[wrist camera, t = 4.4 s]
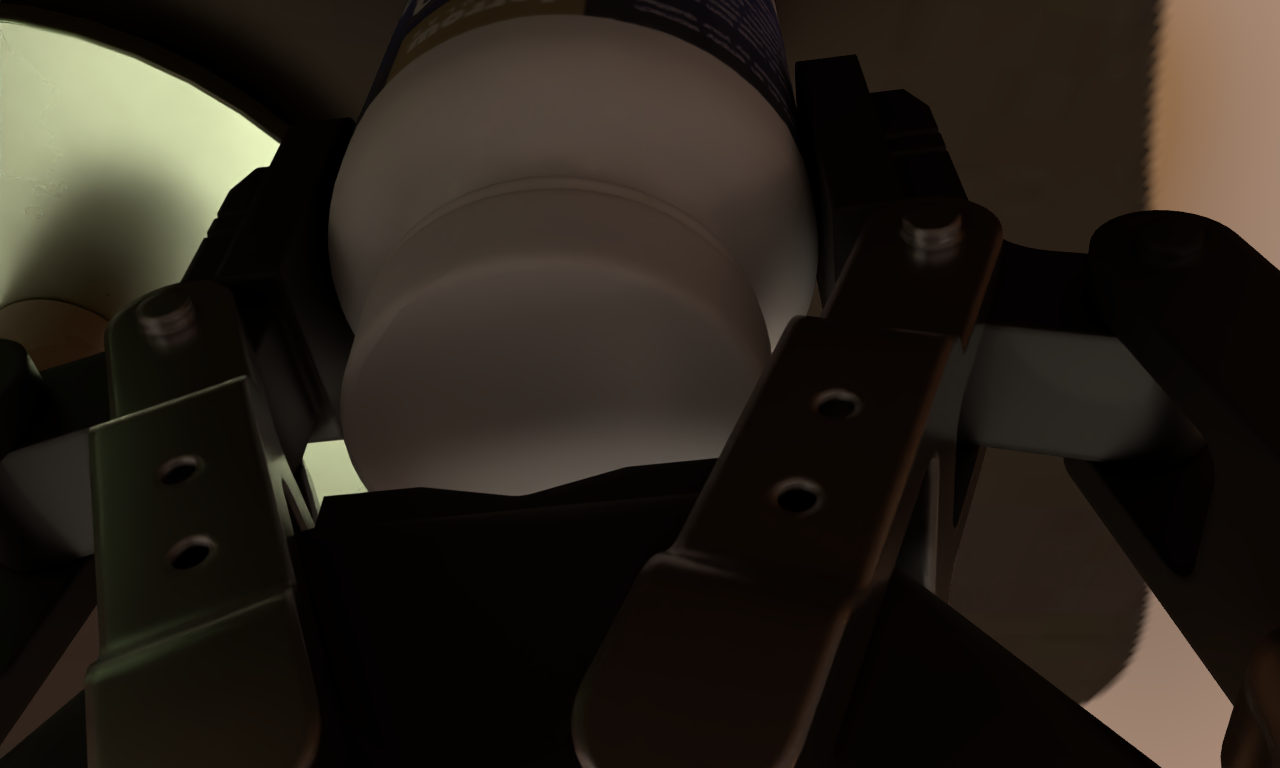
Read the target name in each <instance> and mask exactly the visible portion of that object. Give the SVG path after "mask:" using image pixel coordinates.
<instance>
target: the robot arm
mask: <svg viewBox="0 0 1280 768" xmlns="http://www.w3.org/2000/svg"><path fill="white" fill-rule="evenodd" d="M795 83H796V102H797V114H798V119H799V123H800V128H801V133H802V138H803V143H804V148H805V153H806V158H807V163H808V168H809V172H810V177H811V182H812V187H813V195H814V203H815V212H816V220H817V228H818V237H819V242H818V266H817V275H816V278H817V283H818V288H819V293H820V298H821V303H822V308H823V311H822V313H821V315H820V317H812V316H805V315H795V316H794V317H792V318H791V320H790V321H789V322H788V324H787V326H786V327H785V329H784V331H783V333H782V335H781V337H780V339H779V341H778V343H777V345H776V347H775V349H774V351H773V353H772V355H771V357H770V358H769V360H768V362H767V364H766V366H765V368H764V370H763V372H762V374H761V376H760V378H759V380H758V382H757V384H756V386H755V388H754V390H753V392H752V394H751V396H750V397H749V399H748V401H747V403H746V405H745V407H744V409H743V411H742V413H741V415H740V417H739V419H738V421H737V423H736V425H735V427H734V429H733V431H732V433H731V434H730V436H729V438H728V440H727V442H726V444H725V446H724V448H723V450H722V452H721V454H720V456H719V458H711V459H701V460H691V461H680V462H670V463H660V464H650V465H639V466H629V467H624V468H620V469H617V470H613V471H610V472H606V473H603V474H599V475H596V476H592V477H589V478H585V479H581V480H578V481H574V482H571V483H567V484H564V485H560V486H557V487H553V488H550V489H546V490H543V491H539V492H535V493H532V494H527V495H521V496H509V495H498V494H488V493H478V492H468V491H458V490H448V489H437V488H427V487H414V488H404V489H394V490H384V491H373V492H363V493H353V494H343V495H332V496H324V497H323V501H322V504H321V507H320V504H319V501H318V497H317V494H316V490H315V487H314V483H313V480H312V478H311V475H310V473H309V471H308V468H307V466H306V464H305V461H304V459H303V456H304V453H305V450H306V447H307V444H308V443H316V442H326V441H336V440H344V438H343V431H342V425H341V420H340V398H341V390H342V381H343V377H344V373H345V369H346V366H347V362H348V359H349V355H350V352H351V348H352V345H353V342H354V338H355V335H354V333H353V331H352V329H351V327H350V326H349V324H348V322H347V320H346V318H345V315H344V313H343V311H342V308H341V305H340V302H339V299H338V296H337V293H336V290H335V286H334V283H333V279H332V276H331V268H330V261H329V254H328V223H329V213H330V205H331V200H332V195H333V190H334V185H335V182H336V179H337V176H338V173H339V170H340V167H341V164H342V161H343V158H344V155H345V153H346V150H347V147H348V144H349V142H350V139H351V136H352V133H353V131H354V128H355V125H356V123H355V122H354V121H353V120H352V119H351V118H340V119H333V120H325V121H317V122H309V123H301V124H293V125H291V126H290V127H289V128H288V130H287V132H286V134H285V136H284V138H283V140H282V142H281V144H280V146H279V148H278V150H277V152H276V154H275V156H274V158H273V159H272V161H271V163H270V165H269V166H267V167H259V168H256V169H255V170H253V171H252V172H251V173H250V174H249V175H247V176H246V177H245V178H244V179H243V180H241V181H240V182H239V183H238V184H237V185H236V186H234V187H233V188H232V189H231V190H230V191H229V192H228V194H227V196H226V198H225V200H224V202H223V204H222V205H221V207H220V209H219V211H218V213H217V217H218V218H216V219H214V220H213V222H212V224H211V226H210V228H209V229H208V231H207V238H204V239H203V241H202V242H201V244H200V246H199V248H198V250H197V252H196V254H195V255H194V257H193V259H192V261H191V263H190V265H189V267H188V268H187V270H186V272H185V274H184V276H183V278H182V280H181V281H180V283H175V284H171V285H167V286H164V287H161V288H158V289H156V290H153V291H151V292H149V293H146V294H144V295H142V296H140V297H139V298H137V299H135V300H133V301H132V302H130V303H129V304H128V305H126V306H125V307H124V308H122V309H121V310H120V311H119V312H118V313H117V314H116V315H115V316H114V317H113V318H112V319H111V321H110V322H109V324H108V325H107V327H106V330H105V332H104V348H105V351H103V352H100V353H97V354H95V355H92V356H88V357H85V358H82V359H78V360H75V361H72V362H68V363H65V364H62V365H59V366H55V367H52V368H49V369H45V370H42V371H38V370H37V368H36V366H35V365H34V363H33V361H32V360H31V358H30V356H29V354H28V353H27V351H26V349H25V348H24V347H23V346H22V345H21V344H20V343H18V342H16V341H13V340H9V339H0V745H1V744H2V742H3V741H4V739H5V738H6V736H7V735H8V733H9V732H10V731H11V729H12V728H13V726H14V725H15V723H16V722H17V720H18V719H19V717H20V716H21V715H22V713H23V712H24V710H25V709H26V707H27V706H28V704H29V703H30V701H31V700H32V698H33V697H34V696H35V694H36V693H37V691H38V690H39V688H40V687H41V685H42V684H43V682H44V681H45V679H46V678H47V677H48V675H49V674H50V672H51V671H52V669H53V668H54V666H55V665H56V663H57V662H58V660H59V659H60V658H61V656H62V655H63V653H64V652H65V650H66V649H67V647H68V646H69V644H70V643H71V642H72V640H73V639H74V637H75V636H76V634H77V633H78V631H79V630H80V628H81V627H82V625H83V624H84V623H85V621H86V620H87V618H88V617H89V615H90V614H91V612H92V611H93V609H94V608H95V606H96V605H97V608H98V626H99V645H100V651H99V657H98V660H97V661H96V662H94V663H92V664H90V666H89V667H88V669H87V672H86V677H85V688H84V689H83V690H82V691H81V692H80V693H78V694H77V695H76V696H75V697H74V698H73V699H71V700H70V701H69V702H68V703H67V704H65V705H64V706H63V707H62V708H61V709H59V710H58V711H57V712H56V713H55V714H54V715H52V716H51V717H50V718H49V719H48V720H46V721H45V722H44V723H43V724H42V725H41V726H39V727H38V728H37V729H36V730H35V731H33V732H32V733H31V734H30V735H29V736H27V737H26V738H25V739H24V740H23V741H22V742H20V743H19V744H18V745H17V746H16V747H14V748H13V749H12V750H11V751H10V752H8V753H7V754H6V755H5V756H4V757H2V758H1V759H0V768H1161V767H1160V766H1159V765H1157V764H1156V763H1155V762H1153V761H1152V760H1151V759H1149V758H1148V757H1147V756H1146V755H1144V754H1143V753H1142V752H1140V751H1139V750H1138V749H1136V748H1135V747H1134V746H1133V745H1131V744H1130V743H1128V742H1127V741H1126V740H1125V739H1123V738H1122V737H1121V736H1119V735H1118V734H1117V733H1115V732H1114V731H1113V730H1111V729H1110V728H1109V727H1108V726H1106V725H1105V724H1103V723H1102V722H1101V721H1100V720H1098V719H1097V718H1096V717H1094V716H1093V715H1091V714H1090V713H1089V712H1088V711H1087V710H1085V709H1084V708H1083V707H1081V706H1080V705H1079V704H1077V703H1076V702H1075V701H1074V700H1072V699H1071V698H1070V697H1068V696H1067V695H1066V694H1064V693H1063V692H1062V691H1060V690H1059V689H1058V688H1056V687H1055V686H1054V685H1053V684H1051V683H1050V682H1049V681H1047V680H1046V679H1045V678H1043V677H1042V676H1041V675H1039V674H1038V673H1037V672H1035V671H1034V670H1033V669H1032V668H1030V667H1029V666H1028V665H1026V664H1025V663H1024V662H1022V661H1021V660H1020V659H1019V658H1017V657H1016V656H1015V655H1013V654H1012V653H1011V652H1009V651H1008V650H1007V649H1005V648H1004V647H1003V646H1002V645H1000V644H999V643H998V642H996V641H995V640H994V639H992V638H991V637H990V636H988V635H987V634H986V633H985V632H983V631H982V630H981V629H979V628H978V627H977V626H975V625H974V624H973V623H971V622H970V621H969V620H968V619H966V618H965V617H964V616H962V615H961V614H960V613H958V612H957V611H956V610H954V609H953V608H952V607H951V606H949V605H948V602H949V595H950V588H951V581H952V575H953V570H954V565H955V561H956V557H957V553H958V549H959V546H960V542H961V539H962V535H963V532H964V528H965V524H966V521H967V517H968V514H969V510H970V507H971V503H972V500H973V496H974V492H975V489H976V485H977V482H978V478H979V475H980V471H981V468H982V464H983V461H984V457H985V453H986V450H987V447H992V448H999V449H1007V450H1014V451H1022V452H1029V453H1037V454H1044V455H1052V456H1059V457H1064V464H1065V467H1066V470H1067V471H1068V473H1069V475H1070V477H1071V478H1072V479H1073V481H1074V482H1075V484H1076V485H1077V486H1078V488H1079V489H1080V491H1081V492H1082V493H1083V495H1084V496H1085V498H1086V499H1087V500H1088V502H1089V503H1090V505H1091V506H1092V508H1093V509H1094V510H1095V512H1096V513H1097V515H1098V516H1099V517H1100V519H1101V520H1102V522H1103V523H1104V524H1105V526H1106V527H1107V529H1108V530H1109V531H1110V533H1111V534H1112V536H1113V537H1114V538H1115V540H1116V541H1117V543H1118V544H1119V545H1120V547H1121V548H1122V550H1123V551H1124V553H1125V554H1126V555H1127V557H1128V558H1129V560H1130V561H1131V562H1132V564H1133V565H1134V567H1135V568H1136V569H1137V571H1138V572H1139V574H1140V575H1141V576H1142V578H1143V579H1144V581H1145V582H1146V583H1147V585H1148V586H1149V588H1150V589H1151V590H1152V592H1153V593H1154V595H1155V596H1156V598H1157V599H1158V600H1159V602H1160V603H1161V604H1162V606H1163V607H1164V609H1165V610H1166V611H1167V613H1168V614H1169V616H1170V617H1171V619H1172V620H1173V621H1174V623H1175V624H1176V626H1177V627H1178V628H1179V630H1180V631H1181V633H1182V634H1183V635H1184V637H1185V638H1186V640H1187V641H1188V643H1189V644H1190V645H1191V647H1192V648H1193V649H1194V651H1195V652H1196V654H1197V655H1198V657H1199V658H1200V659H1201V661H1202V662H1203V664H1204V665H1205V666H1206V668H1207V669H1208V671H1209V672H1210V673H1211V675H1212V676H1213V678H1214V679H1215V680H1216V682H1217V683H1218V685H1219V686H1220V688H1221V689H1222V690H1223V692H1224V693H1225V695H1226V696H1227V697H1228V699H1229V700H1230V702H1231V703H1232V704H1233V706H1234V707H1233V711H1232V714H1231V717H1230V721H1229V724H1228V727H1227V730H1226V734H1225V737H1224V740H1223V744H1222V750H1221V768H1280V271H1279V270H1278V269H1277V268H1276V267H1275V266H1274V265H1272V264H1271V263H1270V262H1269V261H1268V260H1267V259H1266V258H1264V257H1263V256H1262V255H1261V254H1260V253H1259V252H1257V251H1256V250H1255V249H1254V248H1253V247H1252V246H1250V245H1249V244H1248V243H1247V242H1246V241H1244V240H1243V239H1242V238H1241V237H1240V236H1239V235H1238V234H1236V233H1235V232H1234V231H1232V230H1231V229H1230V228H1228V227H1227V226H1224V225H1223V224H1221V223H1219V222H1217V221H1214V220H1212V219H1209V218H1207V217H1203V216H1200V215H1196V214H1191V213H1186V212H1180V211H1169V210H1151V211H1140V212H1134V213H1129V214H1125V215H1122V216H1119V217H1116V218H1114V219H1111V220H1109V221H1108V222H1106V223H1104V224H1103V225H1101V226H1100V227H1099V228H1098V229H1097V230H1096V231H1095V232H1094V234H1093V235H1092V237H1091V240H1090V244H1089V252H1088V254H1085V253H1072V252H1059V251H1048V250H1039V249H1034V248H1029V247H1024V246H1020V245H1017V244H1014V243H1011V242H1008V241H1006V240H1004V239H1003V228H1002V224H1001V223H1000V221H999V219H998V218H997V217H996V216H995V215H994V214H993V213H992V212H991V211H989V210H988V209H987V208H985V207H983V206H981V205H979V204H976V203H974V202H971V201H968V198H967V196H966V193H965V191H964V189H963V186H962V184H961V181H960V179H959V177H958V174H957V172H956V169H955V167H954V165H953V162H952V160H951V158H950V155H949V153H948V151H946V146H945V143H944V141H943V138H942V136H941V134H940V133H939V132H938V126H937V124H936V122H935V119H934V117H933V114H932V112H931V110H930V107H929V106H928V105H926V104H925V103H923V102H922V101H920V100H919V99H917V98H916V97H914V96H913V95H912V94H910V93H909V92H907V91H906V90H904V89H899V90H891V91H883V92H875V93H869V90H868V87H867V84H866V81H865V78H864V75H863V72H862V69H861V66H860V64H859V61H858V58H857V55H856V54H854V55H847V56H839V57H831V58H823V59H815V60H807V61H799V62H796V64H795Z"/></svg>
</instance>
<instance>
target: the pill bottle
mask: <svg viewBox="0 0 1280 768" xmlns="http://www.w3.org/2000/svg"><path fill="white" fill-rule="evenodd" d="M818 242H819V237H818V228H817V220H816V212H815V203H814V195H813V187H812V182H811V177H810V172H809V168H808V163H807V158H806V153H805V148H804V143H803V138H802V133H801V128H800V123H799V119H798V114H797V109H796V104H795V99H794V94H793V89H792V84H791V79H790V75H789V70H788V65H787V61H786V55H785V49H784V44H783V39H782V35H781V30H780V26H779V21H778V16H777V11H776V6H775V2H774V0H408V2H407V4H406V6H405V9H404V11H403V13H402V15H401V18H400V20H399V23H398V25H397V27H396V29H395V31H394V34H393V36H392V39H391V41H390V44H389V46H388V48H387V51H386V53H385V56H384V58H383V61H382V63H381V65H380V68H379V70H378V73H377V75H376V78H375V80H374V82H373V85H372V87H371V90H370V92H369V95H368V97H367V100H366V102H365V104H364V107H363V109H362V111H361V113H360V116H359V118H358V120H357V123H356V125H355V128H354V131H353V133H352V136H351V139H350V142H349V144H348V147H347V150H346V153H345V155H344V158H343V161H342V164H341V167H340V170H339V173H338V176H337V179H336V182H335V185H334V190H333V195H332V200H331V205H330V213H329V223H328V254H329V261H330V268H331V276H332V279H333V283H334V286H335V290H336V293H337V296H338V299H339V302H340V305H341V308H342V311H343V313H344V315H345V318H346V320H347V322H348V324H349V326H350V327H351V329H352V331H353V333H354V335H355V338H354V342H353V345H352V348H351V352H350V355H349V359H348V362H347V366H346V369H345V373H344V377H343V381H342V390H341V398H340V420H341V425H342V431H343V438H344V443H345V445H346V448H347V451H348V454H349V457H350V460H351V463H352V465H353V467H354V469H355V471H356V473H357V475H358V477H359V479H360V481H361V482H362V483H363V485H364V486H365V487H366V489H367V490H368V492H373V491H384V490H394V489H404V488H414V487H427V488H437V489H448V490H458V491H468V492H478V493H488V494H498V495H509V496H521V495H527V494H532V493H535V492H539V491H543V490H546V489H550V488H553V487H557V486H560V485H564V484H567V483H571V482H574V481H578V480H581V479H585V478H589V477H592V476H596V475H599V474H603V473H606V472H610V471H613V470H617V469H620V468H624V467H629V466H639V465H650V464H660V463H670V462H680V461H691V460H701V459H711V458H719V456H720V454H721V452H722V450H723V448H724V446H725V444H726V442H727V440H728V438H729V436H730V434H731V433H732V431H733V429H734V427H735V425H736V423H737V421H738V419H739V417H740V415H741V413H742V411H743V409H744V407H745V405H746V403H747V401H748V399H749V397H750V396H751V394H752V392H753V390H754V388H755V386H756V384H757V382H758V380H759V378H760V376H761V374H762V372H763V370H764V368H765V366H766V364H767V362H768V360H769V358H770V357H771V355H772V353H773V351H774V349H775V347H776V345H777V343H778V341H779V339H780V337H781V335H782V333H783V331H784V329H785V327H786V326H787V324H788V322H789V321H790V320H791V318H792V317H794V316H795V315H805V316H806V314H807V312H808V309H809V306H810V303H811V299H812V295H813V291H814V286H815V282H816V275H817V266H818Z"/></svg>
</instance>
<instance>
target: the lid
mask: <svg viewBox="0 0 1280 768" xmlns="http://www.w3.org/2000/svg"><path fill="white" fill-rule="evenodd" d="M289 127H290V125H288V124H287V123H286V122H284V121H283V120H282V119H280V118H279V117H278V116H276V115H275V114H274V113H273V112H271V111H270V110H269V109H267V108H266V107H265V106H263V105H262V104H261V103H259V102H258V101H257V100H255V99H254V98H253V97H251V96H250V95H248V94H247V93H245V92H243V91H242V90H240V89H238V88H237V87H235V86H233V85H232V84H230V83H229V82H227V81H225V80H224V79H222V78H220V77H219V76H217V75H215V74H214V73H212V72H210V71H209V70H207V69H205V68H204V67H202V66H200V65H198V64H196V63H194V62H192V61H190V60H188V59H186V58H184V57H181V56H179V55H177V54H175V53H173V52H171V51H169V50H167V49H165V48H162V47H160V46H158V45H156V44H154V43H152V42H150V41H148V40H145V39H143V38H140V37H137V36H134V35H131V34H128V33H125V32H123V31H120V30H117V29H114V28H111V27H108V26H106V25H103V24H100V23H97V22H94V21H91V20H88V19H84V18H80V17H76V16H71V15H67V14H63V13H59V12H54V11H50V10H46V9H41V8H37V7H33V6H27V5H18V4H10V3H1V2H0V339H9V340H13V341H16V342H18V343H20V344H21V345H22V346H23V347H24V348H25V349H26V351H27V353H28V354H29V356H30V358H31V360H32V361H33V363H34V365H35V366H36V368H37V370H38V371H42V370H45V369H49V368H52V367H55V366H59V365H62V364H65V363H68V362H72V361H75V360H78V359H82V358H85V357H88V356H92V355H95V354H97V353H100V352H103V351H105V348H104V332H105V330H106V327H107V325H108V324H109V322H110V321H111V319H112V318H113V317H114V316H115V315H116V314H117V313H118V312H119V311H120V310H121V309H122V308H124V307H125V306H126V305H128V304H129V303H130V302H132V301H133V300H135V299H137V298H139V297H140V296H142V295H144V294H146V293H149V292H151V291H153V290H156V289H158V288H161V287H164V286H167V285H171V284H175V283H180V281H181V280H182V278H183V276H184V274H185V272H186V270H187V268H188V267H189V265H190V263H191V261H192V259H193V257H194V255H195V254H196V252H197V250H198V248H199V246H200V244H201V242H202V241H203V239H204V238H207V231H208V229H209V228H210V226H211V224H212V222H213V220H214V219H216V218H218V217H217V213H218V211H219V209H220V207H221V205H222V204H223V202H224V200H225V198H226V196H227V194H228V192H229V191H230V190H231V189H232V188H233V187H234V186H236V185H237V184H238V183H239V182H240V181H241V180H243V179H244V178H245V177H246V176H247V175H249V174H250V173H251V172H252V171H253V170H255V169H256V168H259V167H267V166H269V165H270V163H271V161H272V159H273V158H274V156H275V154H276V152H277V150H278V148H279V146H280V144H281V142H282V140H283V138H284V136H285V134H286V132H287V130H288V128H289ZM303 459H304V461H305V464H306V466H307V468H308V471H309V473H310V475H311V478H312V480H313V483H314V487H315V490H316V494H317V497H318V501H319V504H320V507H321V504H322V501H323V497H324V496H332V495H343V494H353V493H363V492H368V490H367V489H366V487H365V486H364V485H363V483H362V482H361V481H360V479H359V477H358V475H357V473H356V471H355V469H354V467H353V465H352V463H351V460H350V457H349V454H348V451H347V448H346V445H345V443H344V440H336V441H326V442H316V443H308V444H307V447H306V450H305V453H304V456H303Z"/></svg>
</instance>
